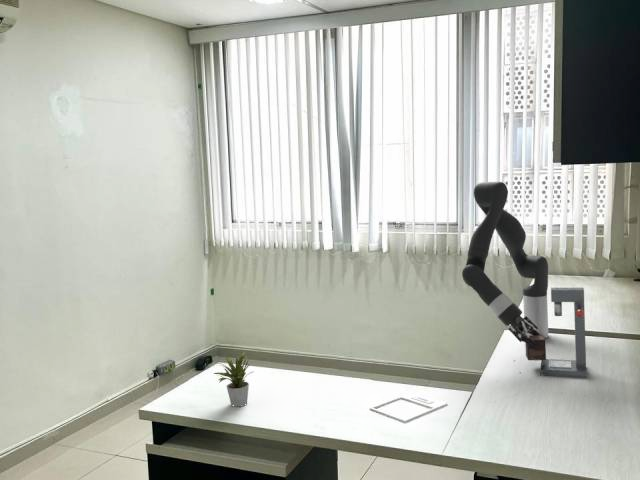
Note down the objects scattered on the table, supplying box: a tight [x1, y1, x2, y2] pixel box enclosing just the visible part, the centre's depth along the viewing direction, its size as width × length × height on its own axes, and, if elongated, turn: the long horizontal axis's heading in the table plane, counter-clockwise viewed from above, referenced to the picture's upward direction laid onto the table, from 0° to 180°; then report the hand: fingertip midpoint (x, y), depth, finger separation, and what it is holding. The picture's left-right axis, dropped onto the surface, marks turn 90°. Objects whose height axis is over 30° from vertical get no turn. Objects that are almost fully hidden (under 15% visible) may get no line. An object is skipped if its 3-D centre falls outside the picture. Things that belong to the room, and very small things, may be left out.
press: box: [539, 287, 588, 379], centre depth 199 cm, size 17×14×28 cm
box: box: [524, 335, 547, 361], centre depth 207 cm, size 6×6×7 cm
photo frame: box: [369, 391, 448, 423], centre depth 180 cm, size 15×1×18 cm
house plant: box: [213, 351, 253, 407], centre depth 193 cm, size 14×14×16 cm
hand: (539, 345), depth 206 cm, fingers closed on box, 8 cm apart
